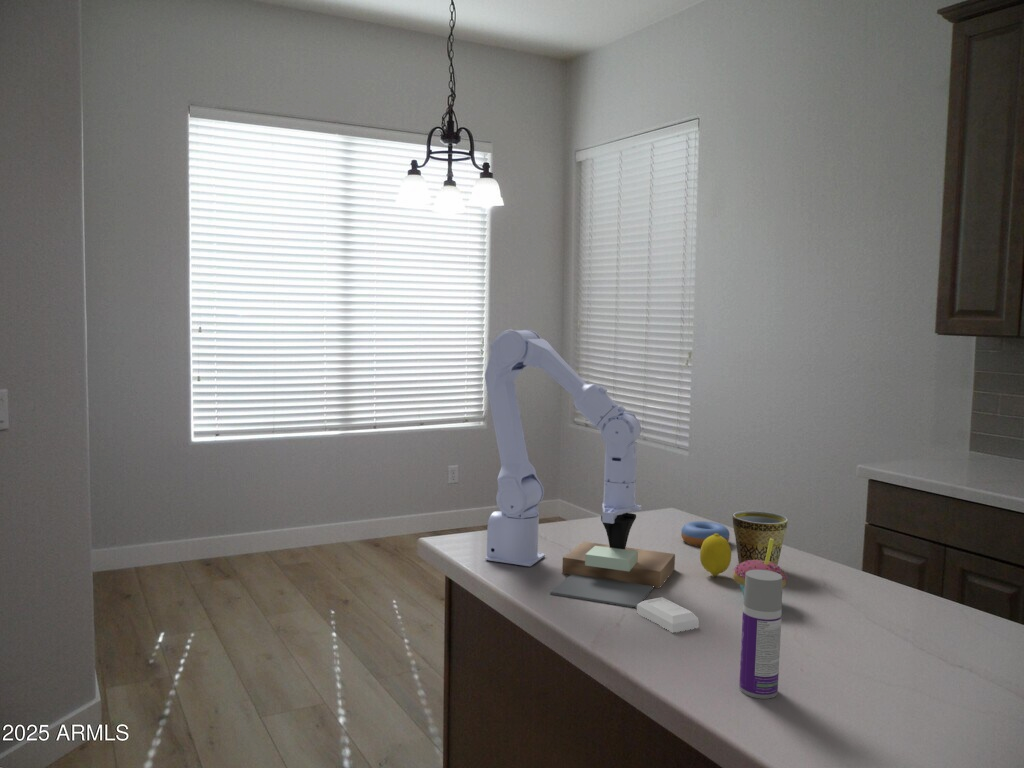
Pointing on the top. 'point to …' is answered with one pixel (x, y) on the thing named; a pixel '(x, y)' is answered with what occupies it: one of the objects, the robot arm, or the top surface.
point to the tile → (611, 558)
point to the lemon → (715, 554)
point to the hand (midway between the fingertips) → (617, 553)
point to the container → (761, 634)
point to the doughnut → (702, 532)
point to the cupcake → (757, 568)
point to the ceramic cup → (758, 534)
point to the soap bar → (668, 614)
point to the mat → (602, 590)
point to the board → (646, 571)
